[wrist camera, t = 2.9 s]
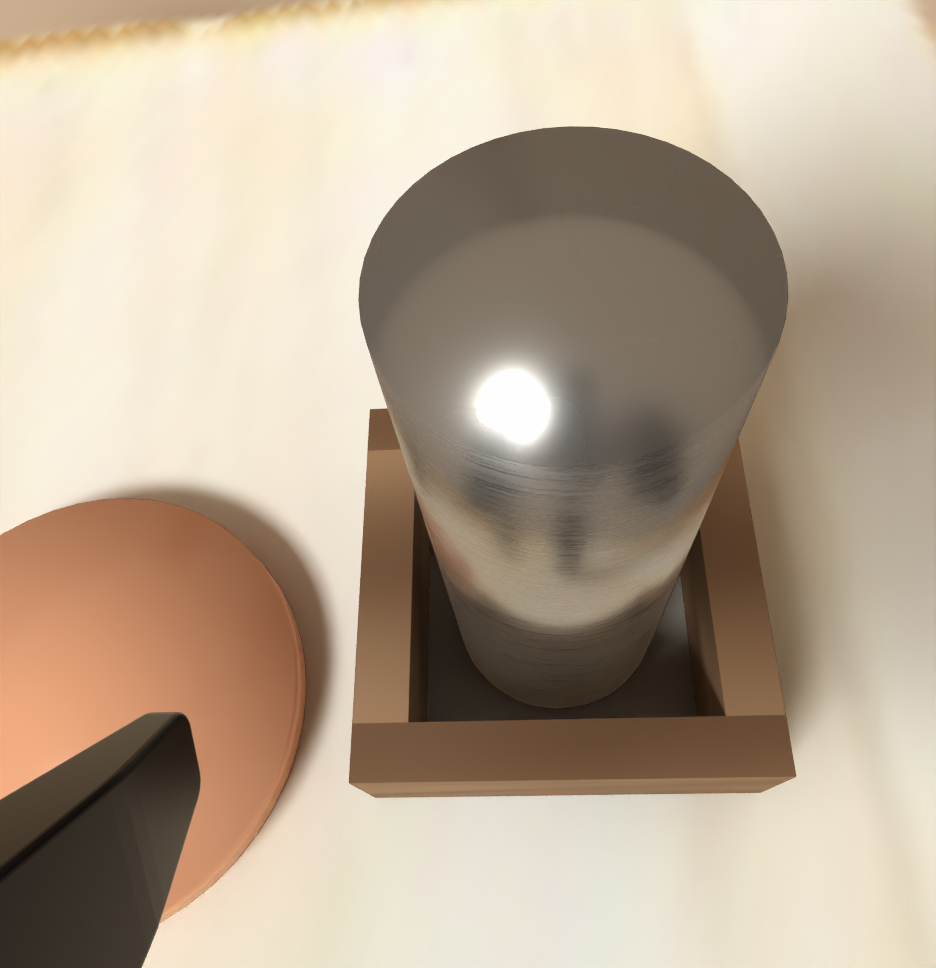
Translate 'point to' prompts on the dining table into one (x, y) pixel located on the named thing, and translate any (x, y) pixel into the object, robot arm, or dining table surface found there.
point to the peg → (569, 385)
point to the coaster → (151, 660)
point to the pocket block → (563, 742)
